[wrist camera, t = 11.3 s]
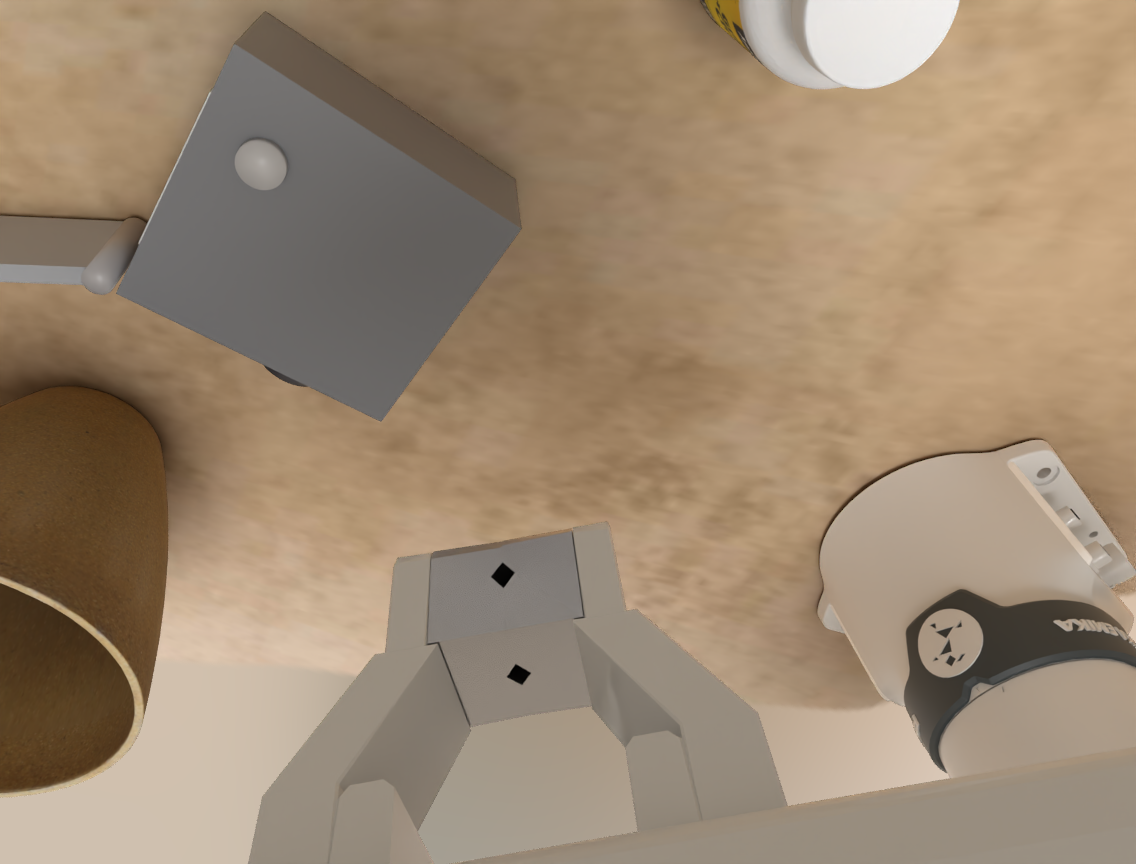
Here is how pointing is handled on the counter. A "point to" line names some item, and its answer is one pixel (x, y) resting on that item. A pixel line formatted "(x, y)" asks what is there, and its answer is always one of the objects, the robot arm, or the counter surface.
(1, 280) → the side door
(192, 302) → the box
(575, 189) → the counter surface
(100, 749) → the plant pot
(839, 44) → the pill bottle
